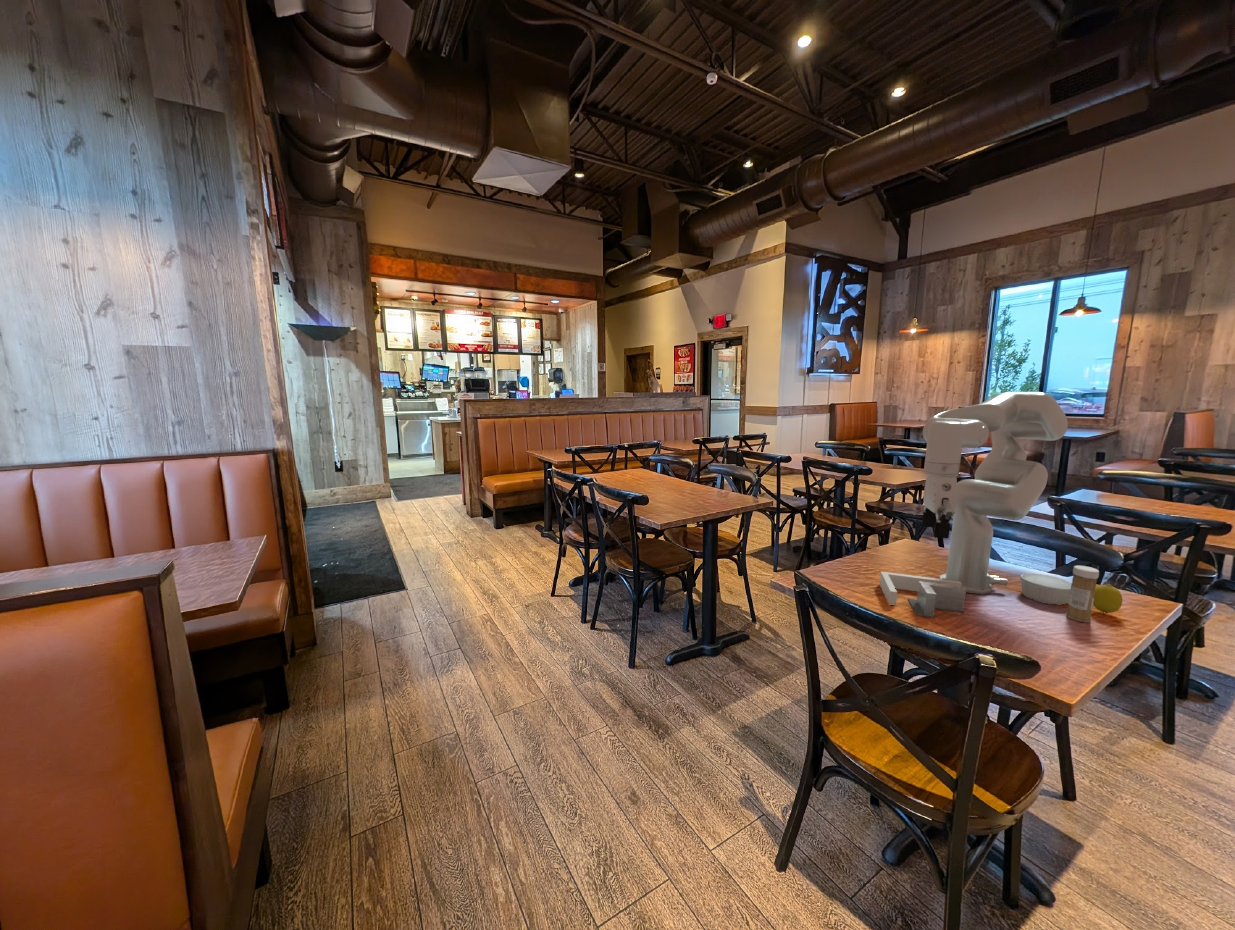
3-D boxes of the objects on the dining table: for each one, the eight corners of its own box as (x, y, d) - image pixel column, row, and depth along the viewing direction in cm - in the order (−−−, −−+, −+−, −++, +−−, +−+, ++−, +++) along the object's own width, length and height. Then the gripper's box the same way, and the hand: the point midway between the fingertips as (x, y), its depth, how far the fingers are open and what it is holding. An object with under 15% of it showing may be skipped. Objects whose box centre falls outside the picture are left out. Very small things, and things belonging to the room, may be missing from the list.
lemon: (1114, 620, 118) (1120, 590, 117) (1085, 611, 123) (1090, 582, 122) (1123, 615, 121) (1128, 586, 119) (1094, 607, 125) (1099, 578, 124)
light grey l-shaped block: (958, 594, 132) (959, 581, 132) (976, 618, 119) (979, 603, 118) (879, 584, 139) (880, 571, 138) (888, 605, 125) (890, 591, 125)
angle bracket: (960, 608, 123) (963, 586, 122) (971, 622, 116) (974, 599, 115) (916, 602, 127) (919, 581, 126) (924, 615, 119) (926, 592, 118)
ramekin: (1011, 587, 138) (1014, 570, 137) (1060, 593, 134) (1063, 576, 133) (1027, 603, 128) (1030, 584, 127) (1080, 610, 123) (1083, 591, 123)
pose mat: (959, 606, 125) (959, 605, 125) (973, 624, 116) (973, 622, 116) (907, 599, 129) (907, 598, 129) (916, 615, 120) (916, 614, 120)
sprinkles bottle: (1095, 622, 117) (1104, 570, 115) (1081, 624, 116) (1090, 572, 114) (1073, 613, 122) (1082, 564, 119) (1060, 615, 121) (1069, 565, 118)
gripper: (972, 475, 113) (963, 543, 116) (946, 463, 129) (939, 523, 132) (935, 474, 115) (928, 541, 118) (915, 462, 131) (909, 521, 134)
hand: (934, 531), depth 125 cm, fingers open, 9 cm apart
